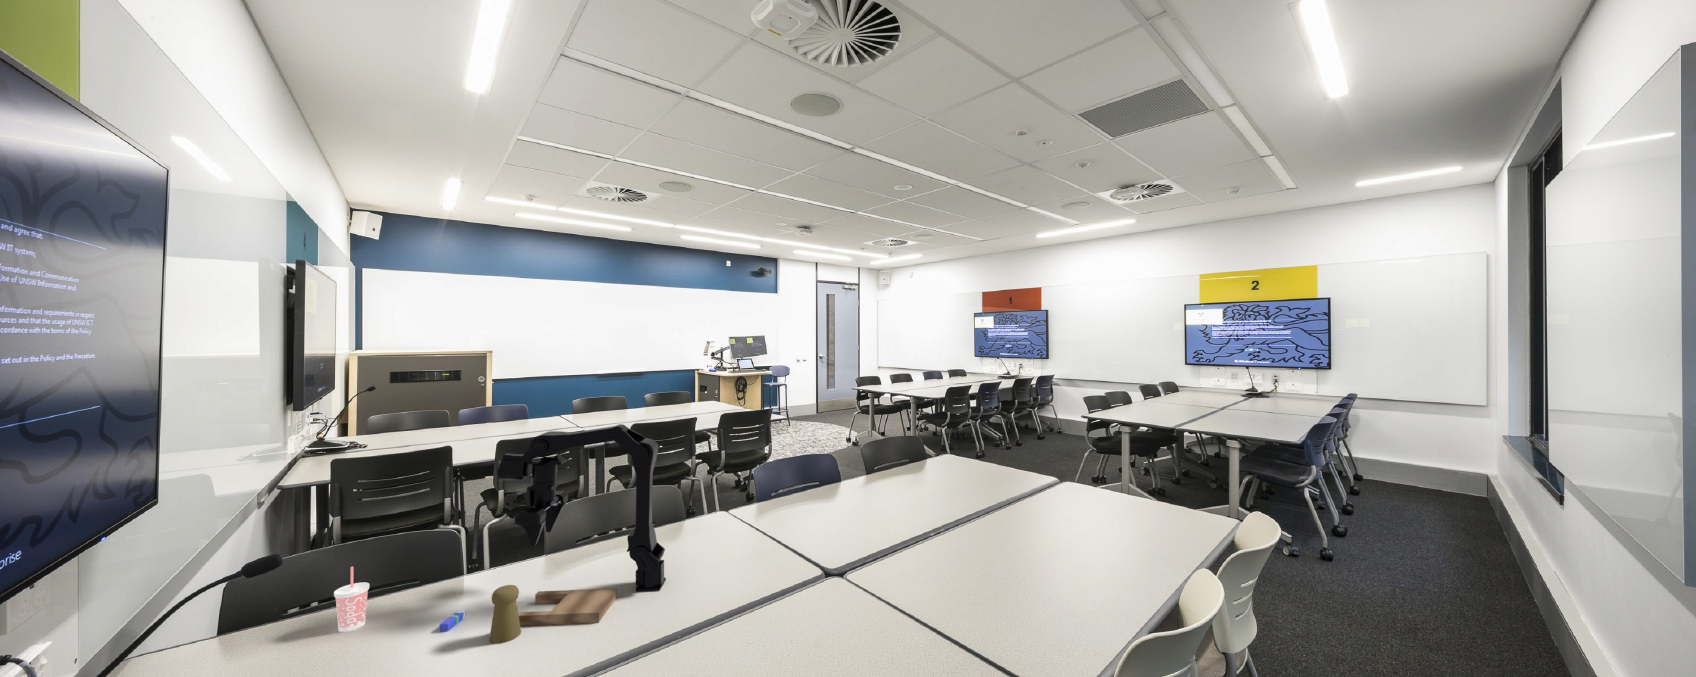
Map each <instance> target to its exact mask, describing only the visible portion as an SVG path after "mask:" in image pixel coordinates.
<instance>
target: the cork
mask: <svg viewBox="0 0 1696 677" xmlns="http://www.w3.org/2000/svg"><path fill="white" fill-rule="evenodd" d="M519 594H520V591H519V588H518V585H514V584H507V585H503V586H500V587H498V588H496V589H495V590H494V591H493V593H492V595H491V603H492V604H493V605H494V606H493V607H494V608H493V614H492V620H491V628H490V633H489V634H490V635H489V642H490V643H492V644H496V645H497V644H503V643H508V642H511V641H513V640H516V639H517V638H518V637H519V636H520V635H521V633H522V629H521V628H522V627H521V626H520V622H519V615H518V612H519V611H518V610H519V609H518V603H517V599H518V598H519Z"/></svg>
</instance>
